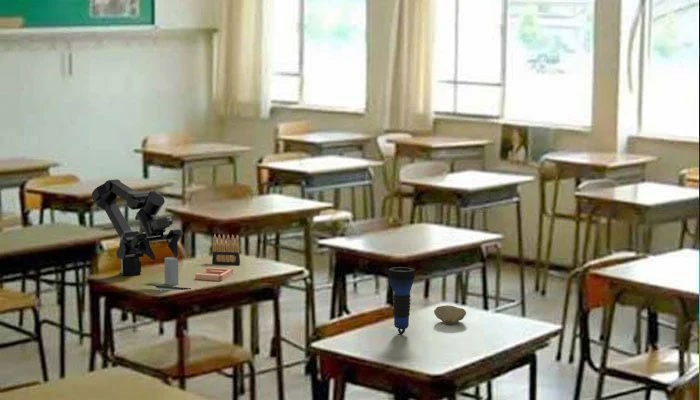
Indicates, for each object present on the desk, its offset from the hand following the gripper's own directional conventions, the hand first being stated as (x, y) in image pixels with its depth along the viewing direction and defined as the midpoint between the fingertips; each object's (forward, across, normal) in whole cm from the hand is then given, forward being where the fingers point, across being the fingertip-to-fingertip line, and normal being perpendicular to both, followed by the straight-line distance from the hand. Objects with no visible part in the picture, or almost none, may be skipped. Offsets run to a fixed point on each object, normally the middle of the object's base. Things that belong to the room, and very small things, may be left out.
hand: (165, 258), depth 411 cm
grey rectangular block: (+9, 0, +4) cm, 10 cm away
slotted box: (+9, +19, +5) cm, 21 cm away
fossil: (+77, +41, -65) cm, 109 cm away
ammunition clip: (-5, +38, +19) cm, 43 cm away
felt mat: (+10, 0, +4) cm, 11 cm away
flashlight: (+76, +21, -64) cm, 102 cm away
